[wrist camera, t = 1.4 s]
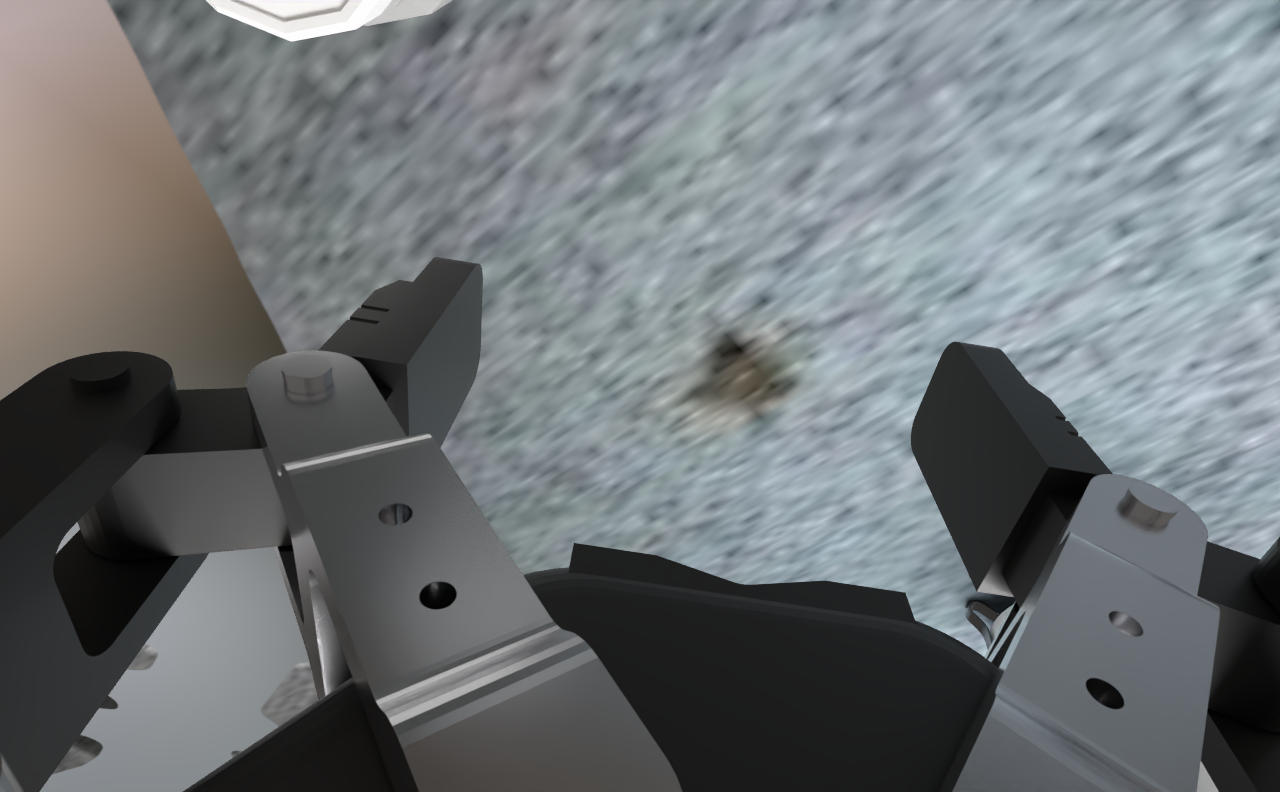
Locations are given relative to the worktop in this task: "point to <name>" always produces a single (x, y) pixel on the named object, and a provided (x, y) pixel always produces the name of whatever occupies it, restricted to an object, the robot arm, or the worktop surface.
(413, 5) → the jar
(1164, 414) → the worktop surface
